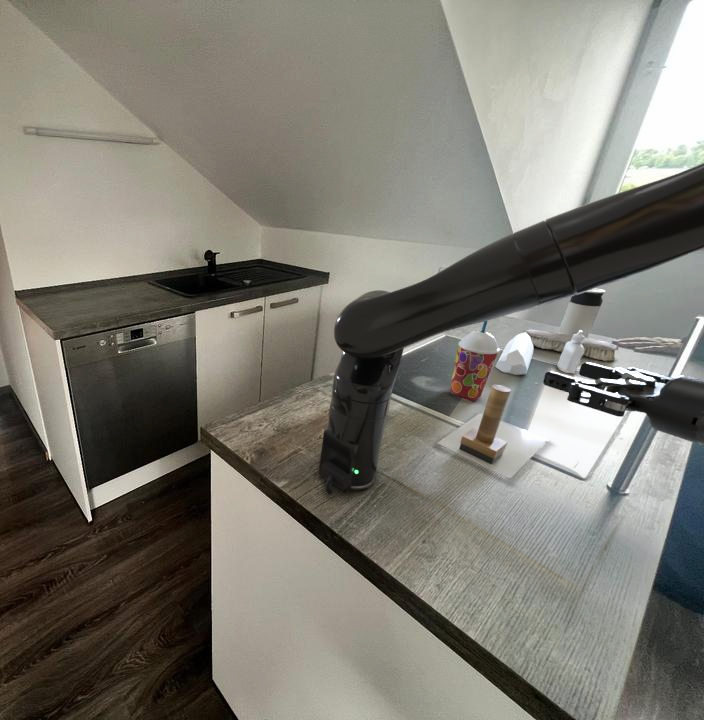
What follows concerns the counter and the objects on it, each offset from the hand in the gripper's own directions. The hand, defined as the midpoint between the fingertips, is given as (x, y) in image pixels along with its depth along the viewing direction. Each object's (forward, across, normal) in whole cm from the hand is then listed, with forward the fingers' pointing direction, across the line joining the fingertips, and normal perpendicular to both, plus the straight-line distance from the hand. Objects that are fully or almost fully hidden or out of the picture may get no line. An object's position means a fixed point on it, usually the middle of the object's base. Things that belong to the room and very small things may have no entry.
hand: (563, 372), depth 60 cm
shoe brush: (+39, -77, +20) cm, 89 cm away
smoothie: (+28, -19, +20) cm, 39 cm away
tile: (+12, -6, +21) cm, 25 cm away
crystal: (+39, -52, +20) cm, 68 cm away
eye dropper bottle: (+30, -61, +21) cm, 71 cm away
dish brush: (+10, 0, +20) cm, 22 cm away
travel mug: (+45, -91, +20) cm, 103 cm away
